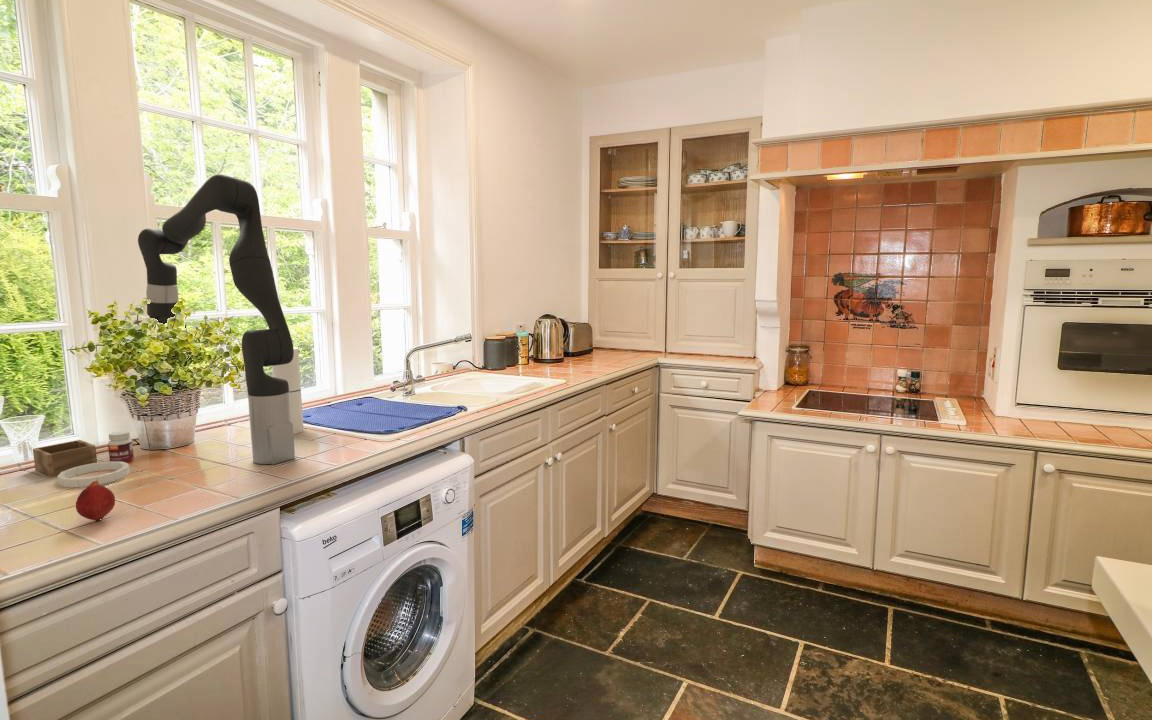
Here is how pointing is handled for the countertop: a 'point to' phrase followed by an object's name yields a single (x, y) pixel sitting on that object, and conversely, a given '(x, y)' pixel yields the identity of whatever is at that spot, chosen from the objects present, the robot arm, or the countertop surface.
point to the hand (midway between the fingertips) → (164, 353)
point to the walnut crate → (63, 457)
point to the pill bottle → (120, 447)
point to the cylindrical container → (292, 389)
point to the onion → (95, 501)
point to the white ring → (67, 481)
